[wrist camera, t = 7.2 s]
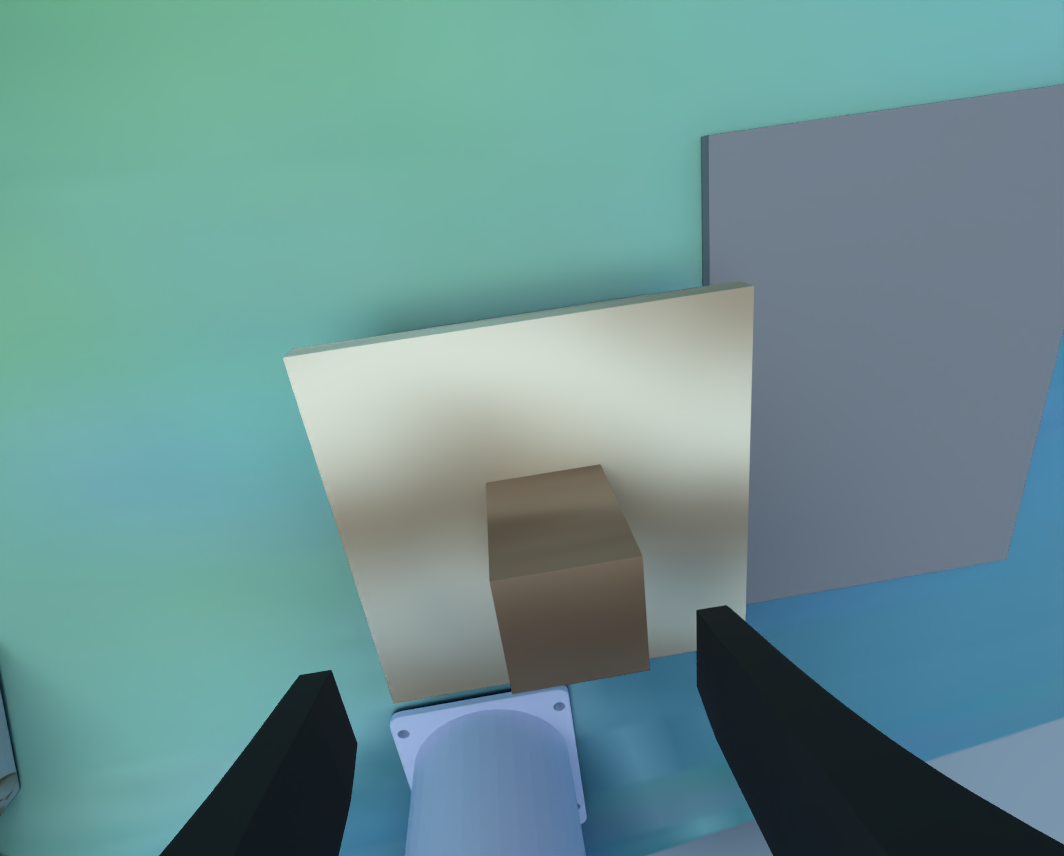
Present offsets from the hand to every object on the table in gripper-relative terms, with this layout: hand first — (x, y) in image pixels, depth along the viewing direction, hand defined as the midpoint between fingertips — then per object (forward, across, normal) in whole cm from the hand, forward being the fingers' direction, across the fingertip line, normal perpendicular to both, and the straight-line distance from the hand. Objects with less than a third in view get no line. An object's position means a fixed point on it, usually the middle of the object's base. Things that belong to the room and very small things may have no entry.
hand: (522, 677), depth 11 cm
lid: (+5, -1, 0) cm, 6 cm away
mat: (+10, -14, -1) cm, 18 cm away
